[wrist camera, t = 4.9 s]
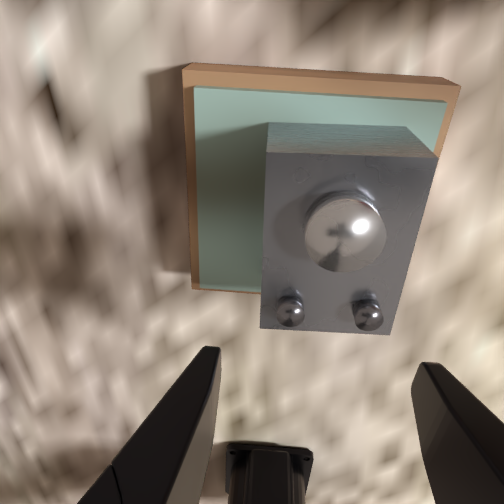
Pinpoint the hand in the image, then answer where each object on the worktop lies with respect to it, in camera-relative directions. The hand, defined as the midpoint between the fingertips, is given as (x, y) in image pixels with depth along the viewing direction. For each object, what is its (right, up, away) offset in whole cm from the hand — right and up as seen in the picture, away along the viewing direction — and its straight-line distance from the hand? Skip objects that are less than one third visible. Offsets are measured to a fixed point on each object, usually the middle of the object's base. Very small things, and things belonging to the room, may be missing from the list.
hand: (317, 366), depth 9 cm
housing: (+1, +4, +7) cm, 8 cm away
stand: (+1, +6, +9) cm, 11 cm away
